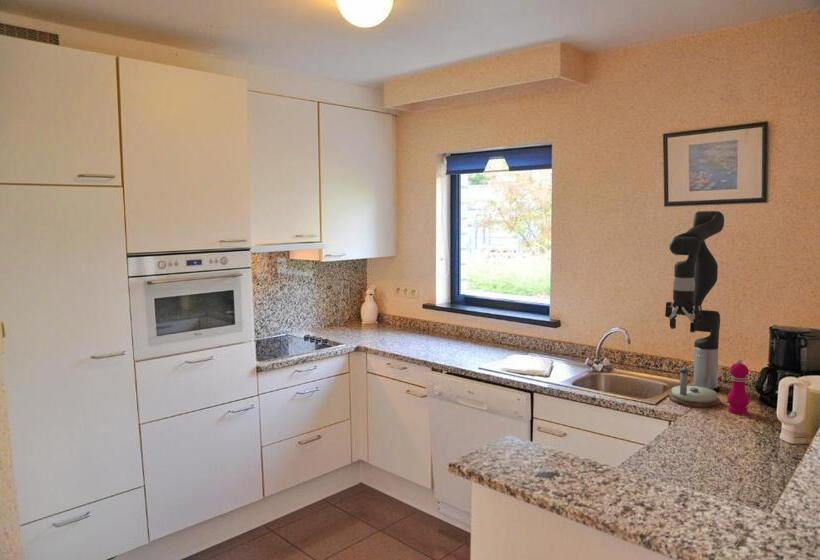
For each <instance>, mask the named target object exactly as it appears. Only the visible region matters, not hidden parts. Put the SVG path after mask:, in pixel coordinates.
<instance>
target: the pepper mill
mask: <svg viewBox="0 0 820 560" xmlns="http://www.w3.org/2000/svg"><path fill="white" fill-rule="evenodd" d="M729 371H730V372H729V373H730V374H731V377H730V378H731V381H732V387H731V388H730V390H729V392H728V394H727V397H726V399H727V403H728V404H729V405H727V406H728V407H727V410H728V412H729V413H731V414H735V415H746V414H747V413H748V405H749V404H750V397H749V395H748V393H747V390H746V388H745V387H746V382H747V378H748V377H747V376H748V374H749V372H750V371H749V367H748V366H747V365H746V364H744V363H743V360H742V359H737V360H736V363H733V364H731V366H730V368H729Z"/></svg>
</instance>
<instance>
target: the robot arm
mask: <svg viewBox="0 0 820 560" xmlns="http://www.w3.org/2000/svg"><path fill="white" fill-rule="evenodd" d="M724 226H725V216H724V213H722V212H721V211H719V210H717V211H716V210H709V211H708V210H707V211H705V210H704V211H703V210H702V211H696V212H695V213H694V215H693V221H692V227H690V228H689V229H688V230H687V231H686V232H683V233H681V234H678V235H675V236H674V237H673V238H672V239H671V240H670V242H669V245H668V246H669V250H670V252H671V253H672V254H673V255H675V256H687V258H686V259H685V260H683V261H682V260H681V261H677V262H675V264H674V268H673V269H674V273H673V275H674V276H673V282H672V283H673V286H672V287H673V288H672V300H673V301H666V303H665V312H664V316H665V317H666V318H668V319H669V327H670V329H672V330H674V329H676V327H677V319H676V318H678V316H683V317H684V316H686V318H688V320H689V321H690V323H689V332H690V333H692V334H693V333H696V332H703V333H709V335H707V336H705V337H702V338H697V339H696V340H695V341H694V343H693V344H694V345H693V348H694V349H693V350H694V351H693V353H694V354H693V380H692V382H693V383H692V384H693V385H692V386H698V387H704V388H708V389H711V390H715V389H714V388H716V389H718V375H719V374H718V373H719V372H718V371H719V370H718V369H719V343H720V342H719V339H720V327H721V314H720V313H719V311H717V310H707V309H706V310H705V309H703V308H702V307H703V306H702V305H703V302H704V300H705V298H706V297H707V295H708V293H709V292H711V290H712V289H713V287H714V286H715V285H716V283H717V281H718V275H719V274H718V272H719V271H718V270H719V269H718V268H719V267H718V262H717V260H716V259H715V257H714V256H713V254H712V252H711V251H710V249H709V248H708V245H707V244H706V240H707V239H708V238H710V237H713V236H715V235H717V234H719V233H720V232H721V231H722V230H723V229H724Z"/></svg>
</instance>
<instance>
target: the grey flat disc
mask: <svg viewBox="0 0 820 560" xmlns="http://www.w3.org/2000/svg"><path fill="white" fill-rule="evenodd" d="M668 395H669V396H668V399H669V401H671V402H672V403H673V404H676V405H680V406H683V407H684V406H685V407H688V408H690V407H691V408H698V409H706V408H707V409H708V408H710V409H711V408H717V407H718V406H719V405H720V398H719V397H718V396H717V400H716V401H714V402H708V403H698V402H689V401H684V400H680V399H677V398H675V397H673V396H672V391H671V392H669V394H668Z"/></svg>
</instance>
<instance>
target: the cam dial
mask: <svg viewBox="0 0 820 560" xmlns="http://www.w3.org/2000/svg"><path fill="white" fill-rule="evenodd" d="M688 372H689V369H688V368H679V373H680V376H679V377H680V380H679V385H677V386H673V387H672V388H671V392H672V396H673V397H675V398H677V399H680V400H684V401H689V402H698V403H708V402H714V401H716V400H717V397H718V392H717V391H715V389H708V388H704V387H698V386H693V385H688Z"/></svg>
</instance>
